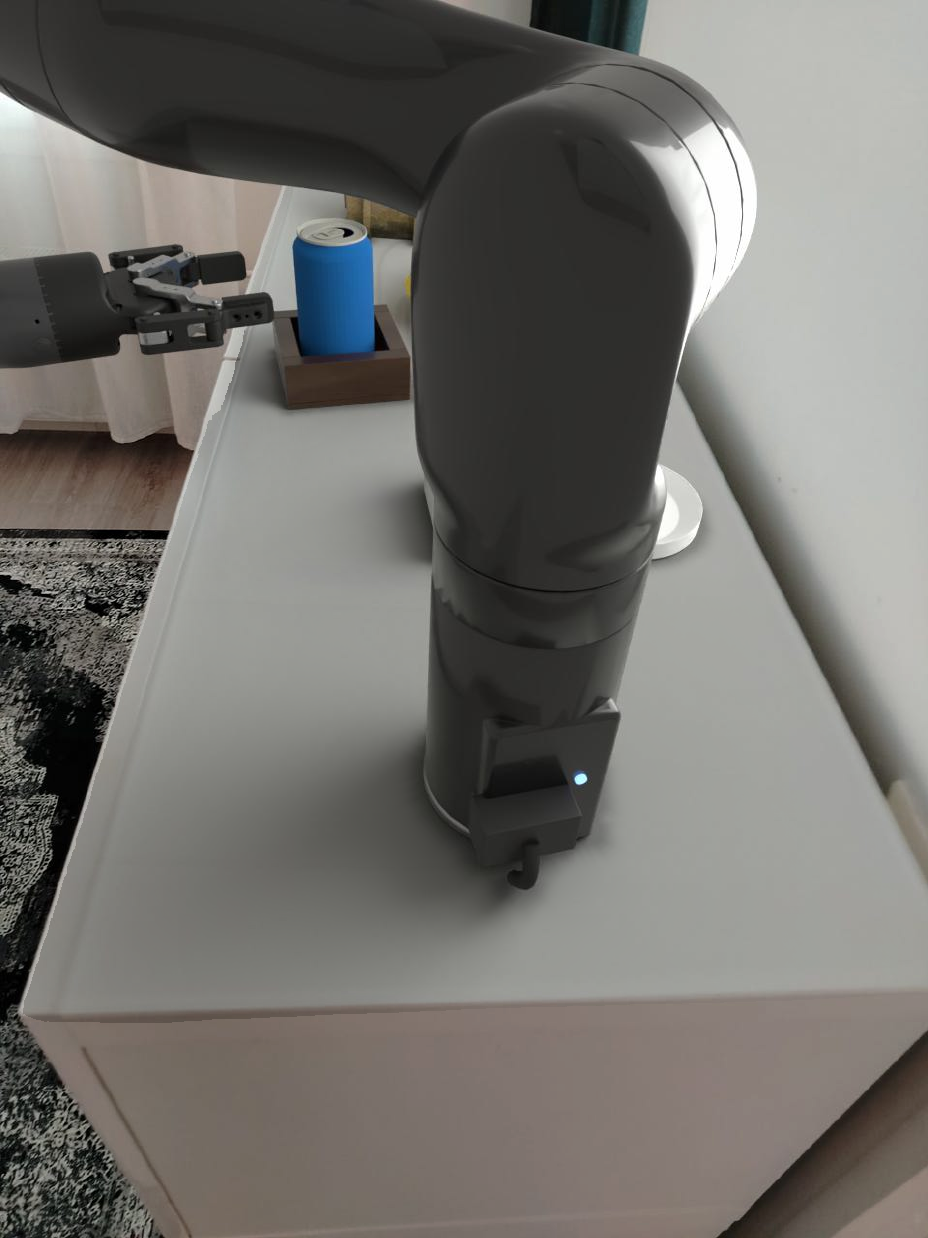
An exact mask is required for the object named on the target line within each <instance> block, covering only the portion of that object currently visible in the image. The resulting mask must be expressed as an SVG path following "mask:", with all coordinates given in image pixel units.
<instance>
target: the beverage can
mask: <svg viewBox="0 0 928 1238" xmlns="http://www.w3.org/2000/svg"><path fill="white" fill-rule="evenodd" d="M291 247H292V248H291V249H292V260H293V272H294V285H295V297H296V300H295V301H296V310H297V312H298V325H299V338H300V350H301V357H304V356H318V355H332V354H346V353H359V352H373V351H375V336H374V305H375V294H374V293H375V289H374V287H375V285H374V247H373V243H372V241H371V240H369V238H368V237H367V229H366V227H365V226H363V225H362V224H360V223H358V222H355V221H352V220H348V219H347V218H340V217H322V218H315V219H311V220H307V221H304V222H302V223H301V224H299V225H298V226H297V228H296V237H295V239H294V240H293V243H292V246H291Z"/></svg>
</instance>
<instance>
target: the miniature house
mask: <svg viewBox="0 0 928 1238" xmlns="http://www.w3.org/2000/svg"><path fill="white" fill-rule="evenodd" d="M343 195H344V196H343V198H344V208H345V210H346V211H345V212H346V219H348V220H352V221H355V222H358V223H360V224H362V225H363V226H365V227H366V229H367V237H368V238H369V240H370V241H371V240H372V239H373V238H380V239H381V238H384V239H395V240H399V239H400V240H408V241H409V240H410V241H411V242H412V243H411V245H412V246H413V236H414V230H415V223H416V218H414V217H411V216H409V215H407V214H404V213H402V212H399V211H397V210H395V209H392V208H390V207H387V206H384V205H381V204H378V203H375V202H372V201H369V200H366V199H362V198H358V197H353V196H349V195H345V194H343Z"/></svg>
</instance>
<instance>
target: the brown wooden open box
mask: <svg viewBox="0 0 928 1238" xmlns="http://www.w3.org/2000/svg"><path fill="white" fill-rule="evenodd" d="M271 323H272V333H273V340H274V341H273V342H274V343H273V344H274V352H275V356H276V362H277V365H278V366H277V367H278V371H279V375H280V379H281V383H282V387H283V392H284V397H285V400H286V405H287V410H300V409H301V410H302V409H310V408H311V409H312V408H322V407H323V408H325V407H335V406H347V405H359V404H360V405H361V404H371V403H381V402H393V401H408V400H411V355H410V353H409V351H408V348H407V346H406V344H405V341H404V339H403V337H402V335H401V333H400V331H399V329H398V327H397V324H396V322H395V319H394V318H393V314H392V313H391V311H390V308H389V306H388V305H387V303H385V304H374V336H375V351H373V352H359V353H346V354H332V355H318V356H304V357H301V350H300V338H299V325H298V312H297V309H287V310H286V309H285V310H274V320H273V321H272V322H271Z"/></svg>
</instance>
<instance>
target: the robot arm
mask: <svg viewBox="0 0 928 1238" xmlns="http://www.w3.org/2000/svg"><path fill="white" fill-rule="evenodd" d="M0 93H1V94H2V95H4V96H6V97H7V98H9V99H11V100H12V101H14V102H16V103H17V104H19V105H20V106H22V107H24V108H26V109H28V110H30V111H32V112H34V113H37V114H39V115H40V116H42V117H44V118H47V119H48V120H50V121H52V122H55V123H57V124H59V125H61V126H63V127H65V128H66V129H69V130H71V131H72V132H75V133H77V134H79V135H81V136H83V137H85V138H87V139H89V140H91V141H93V142H95V143H97V144H100V145H102V146H104V147H106V148H109V149H112V150H114V151H116V152H119V153H121V154H123V155H127V156H129V157H132V158H134V159H137V160H139V161H143V162H146V163H149V164H152V165H157V166H159V167H165V168H169V169H174V170H179V171H184V172H189V173H193V174H199V175H204V176H210V177H217V178H222V179H223V178H224V179H229V180H238V181H242V182H243V181H244V182H252V183H257V184H258V183H259V184H265V185H266V184H267V185H275V186H284V187H292V188H301V189H309V190H316V191H321V192H329V193H336V194H339V195H340V194H341V195H344V194H345V195H349V196H353V197H358V198H362V199H366V200H369V201H372V202H375V203H378V204H381V205H384V206H387V207H390V208H392V209H395V210H397V211H399V212H402V213H404V214H407V215H409V216H411V217H414V218H416V223H415V230H414V236H413V240H412V241H413V245H412V248H411V261H410V273H411V283H410V300H409V302H410V301H411V303H410V335H411V336H410V337H411V338H410V339H411V362H412V364H411V365H412V366H411V367H412V389H413V391H412V392H413V418H414V419H413V420H414V434H415V435H414V436H415V442H416V443H415V444H416V451H417V456H418V460H419V463H420V466H421V470H422V472H423V476H424V475H425V477H426V480H427V482H428V484H429V486H430V488H431V491H432V493H433V495H434V523H433V525H432V554H431V555H432V556H431V557H432V558H431V575H430V576H431V577H430V578H431V579H430V605H429V606H430V608H429V636H428V640H429V641H428V667H427V671H428V672H427V696H426V726H425V727H426V728H425V729H426V739H425V740H426V741H425V752H424V755H423V756H424V758H423V770H422V773H423V774H422V775H423V776H422V777H423V783H424V789H425V792H426V795H427V798H428V800H429V802H430V804H431V806H432V807H433V809H434V810H435V811H436V813H437V815H439V816H440V818H441V819H442V820H443V821H444V822H445V823H447V825H448V826H450V827H451V828H452V829H454V830H455V831H457V832H458V833H459V834H460V835H462V836H464V837H466V838H468V839H469V840H470V842H471V844H472V845H473V849H474V852H475V856H476V859H477V862H478V865H479V868H481V869H482V868H483V869H484V868H488V867H493V866H496V865H501V864H502V865H503V864H507V863H511V862H517V861H522V862H521V863H522V864H521V870H519V869H515V868H513V869H511V870H509V871H508V873H507V875H506V880H507V883H509V885H510V886H513V887H515V888H516V889H519V890H522V891H528V890H530V889H532V888H534V886H535V885H536V882H537V880H538V878H539V874H540V857H542V856H546V855H551V854H556V853H561V852H566V851H570V850H574V849H575V847H576V843H577V839H578V838H579V839H580V838H582V837H583V838H584V837H587V836H590V835H591V834H592V833H593V829H594V826H595V825H594V824H595V821H596V816H597V813H598V810H599V805H600V801H601V798H602V793H603V790H604V785H605V782H606V779H607V774H608V770H609V767H610V764H611V763H610V762H611V760H612V755H613V751H614V748H615V747H614V746H615V743H616V740H617V735H618V732H619V727H620V723H621V719H622V713H621V710H620V709H619V706H618V705H617V701H618V697H619V692H620V690H621V689H620V688H621V685H622V681H623V676H624V672H625V669H626V664H627V661H628V655H629V652H630V648H631V645H632V641H633V640H632V639H633V635H634V631H635V628H636V624H637V620H638V616H639V611H640V607H641V604H642V600H643V597H644V592H645V588H646V586H647V585H646V584H647V580H648V576H649V573H650V567H651V564H652V560H653V559H652V556H653V552H654V548H655V545H656V541H657V538H658V534H659V530H660V526H661V522H662V518H663V514H664V510H665V505H666V497H667V486H666V480H665V476H664V473H663V470H662V468H661V466H660V464H661V463H660V461H659V460H660V456H661V452H662V446H663V442H664V437H665V432H666V427H667V422H668V418H669V413H670V408H671V403H672V399H673V396H674V391H675V388H676V387H675V386H676V382H677V377H678V374H679V369H680V365H681V362H682V357H683V354H684V350H685V346H686V343H687V341H688V336H689V334H690V333H691V331H692V330H693V329H694V327H695V326H696V325H697V324H698V322H699V321H700V320H701V319H702V317H703V316H704V315H705V313H706V312H707V311H708V310H709V309H710V308H711V306H712V305H713V303H714V302H715V300H716V298H718V297H719V296H720V294H721V293H722V292H723V291H724V289H725V288H726V286H727V285H728V283H729V281H730V280H731V278H732V277H733V275H734V274H735V273H736V271H737V269H739V266H740V265H741V262H742V261H743V259H744V257H745V254H746V252H747V249H748V247H749V245H750V242H751V239H752V235H753V232H754V229H755V226H756V225H755V224H756V219H757V214H758V210H757V209H758V185H757V179H756V178H757V177H756V171H755V168H754V164H753V160H752V156H751V154H750V151H749V148H748V146H747V144H746V141H745V139H744V137H743V135H742V133H741V131H740V129H739V127H738V125H736V122H735V121H734V119H733V118H732V116H730V114H729V113H728V111H726V110H725V108H724V107H723V106H722V105H721V103H719V101H718V100H717V99H716V98H715V96H714V95H713V94H712V93H711V92H709V91H708V90H707V89H706V88H705V87H704V86H703V85H702V84H701V83H699V82H697V81H696V80H694V79H693V78H692V77H690V76H689V75H688V74H686V73H684V72H682V71H680V70H678V69H677V68H675V67H673V66H670V65H667V64H666V63H663V62H661V61H657V60H654V59H652V58H648V57H644V56H641V55H638V54H634V53H630V52H626V51H622V50H618V49H614V48H610V47H607V46H606V47H605V46H602V45H599V44H594V43H590V42H586V41H582V40H577V39H574V38H571V37H567V36H564V35H561V34H560V35H559V34H556V33H553V32H548V31H545V30H541V29H538V28H534V27H531V26H528V25H527V26H526V25H524V24H520V23H516V22H513V21H509V20H506V19H502V18H499V17H495V16H492V15H489V14H484V13H480V12H477V11H473V10H470V9H467V8H464V7H462V6H457V5H455V4H451V3H448V2H445V1H443V0H0ZM107 256H108V261H109V269H110V271H106V272H104V270H103V266H102V263H101V261H100V259H99V257H98V255H97V254H95V252H93V251H81V252H79V251H78V252H72V253H71V252H70V253H62V254H51V255H42V256H31V257H24V258H23V257H22V258H14V259H5V260H4V259H3V260H0V369H1V370H2V369H4V370H5V369H30V368H36V367H43V366H49V365H57V364H65V363H72V362H78V361H79V362H80V361H85V360H86V361H87V360H93V359H100V358H107V357H114V356H117V355H118V354H119V353H120V351H121V341H120V338H121V336H124V335H127V336H128V335H131V336H133V335H135V336H137V337H138V343H139V347H140V353H141V354H142V355H144V356H153V355H161V354H170V353H171V354H172V353H179V352H187V351H188V352H189V351H195V350H196V351H197V350H204V349H206V350H207V349H214V348H219V347H220V348H221V347H223V346H224V345H225V340H224V336H225V335H226V334H227V333H228V330H230V329H237V328H243V327H244V328H246V327H252V326H259V325H267V324H271V323H272V321H273V320H274V311H275V310H274V301H273V298H272V297H271V295H270V293H268V292H266V291H261V292H260V291H259V292H253V293H246V294H245V293H244V294H237V295H230V296H222V297H221V298H218V297H212V296H205V295H200V294H197V292H196V291H195V290H194V289H193V288H195V287H197V286H198V285H200V283H201V285H202V286H209V285H214V284H223V283H224V284H225V283H231V282H232V283H233V282H239V281H244V280H245V279H246V278H247V274H248V273H247V267H246V259H245V256H244V255H243V253H242V252H241V251H239V250H235V251H234V250H233V251H223V252H215V253H206V254H198V255H196V253H195V252H194V251H187V250H186V251H184V247H183V245H181V244H177V243H174V244H173V243H172V244H167V245H160V246H159V245H158V246H151V247H144V248H135V249H129V250H121V251H113V252H109V253H108V255H107ZM198 309H199V310H198ZM196 334H203V335H196Z"/></svg>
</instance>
